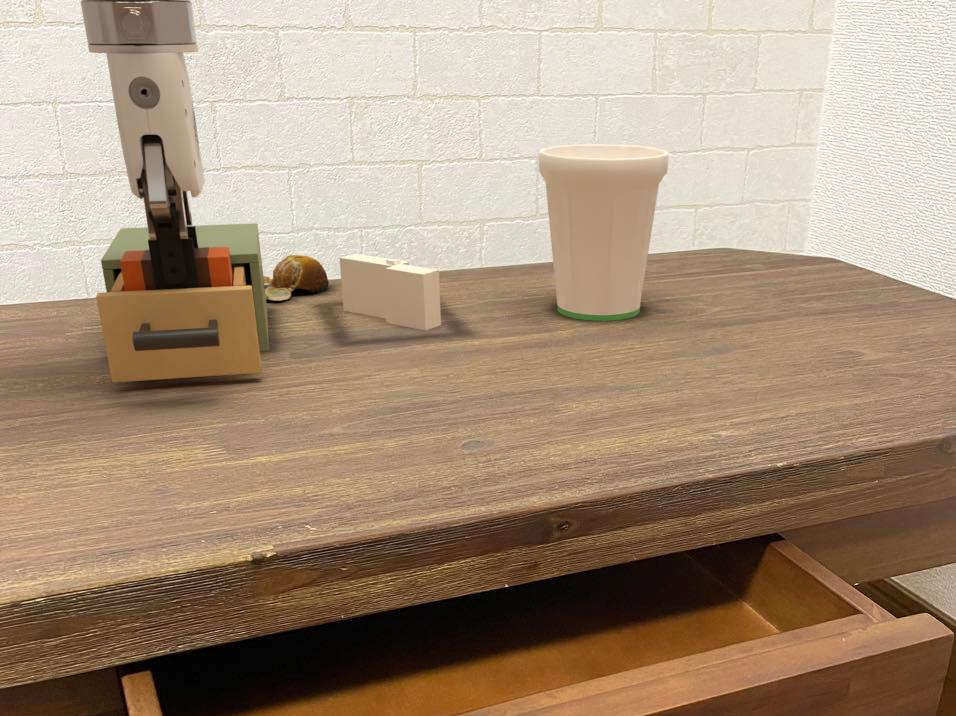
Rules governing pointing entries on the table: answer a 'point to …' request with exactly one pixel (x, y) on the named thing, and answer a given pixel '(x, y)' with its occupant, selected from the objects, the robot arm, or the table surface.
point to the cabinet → (232, 235)
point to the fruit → (295, 277)
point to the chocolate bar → (208, 263)
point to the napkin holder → (391, 290)
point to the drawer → (180, 331)
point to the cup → (601, 225)
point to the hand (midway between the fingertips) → (179, 281)
